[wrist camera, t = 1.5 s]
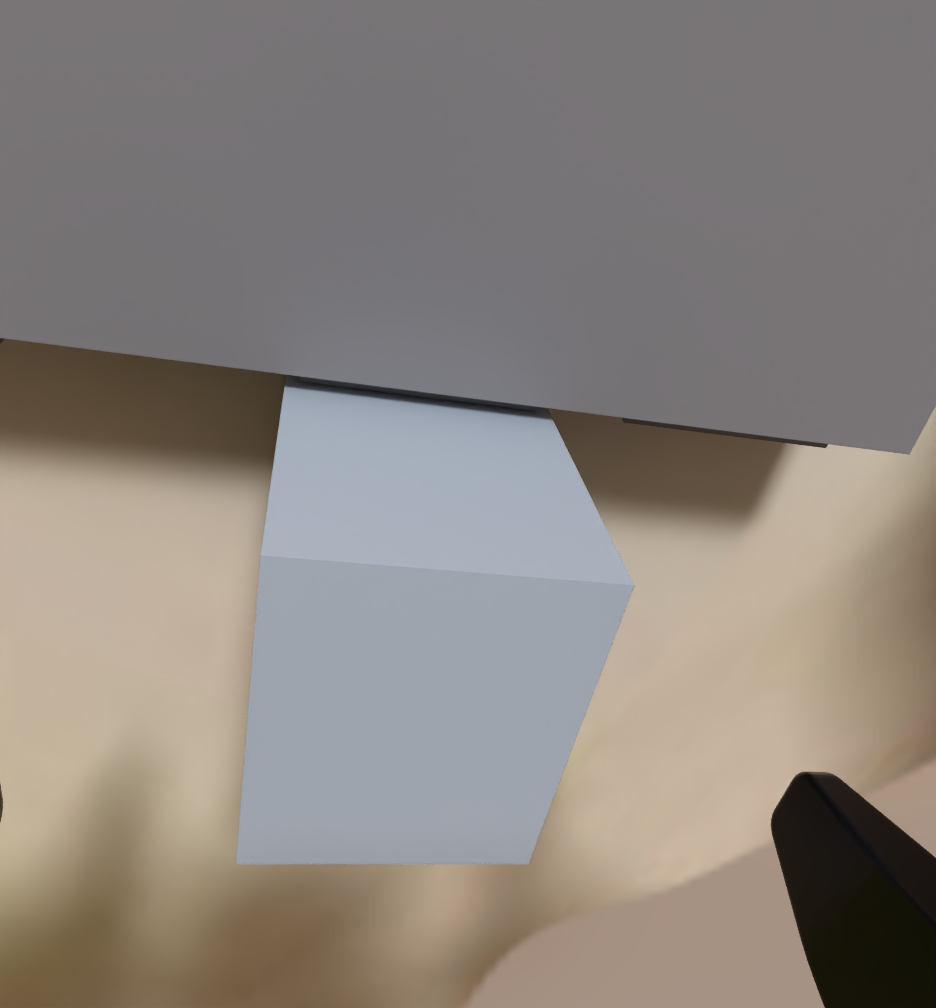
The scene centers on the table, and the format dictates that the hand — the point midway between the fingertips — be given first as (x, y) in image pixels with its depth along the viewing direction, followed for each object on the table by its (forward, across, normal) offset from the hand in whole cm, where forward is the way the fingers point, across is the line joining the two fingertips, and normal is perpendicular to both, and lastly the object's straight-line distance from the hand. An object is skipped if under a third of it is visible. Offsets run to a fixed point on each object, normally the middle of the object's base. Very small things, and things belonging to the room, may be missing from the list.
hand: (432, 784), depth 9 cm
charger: (+7, 0, 0) cm, 7 cm away
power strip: (+8, +6, -6) cm, 11 cm away
